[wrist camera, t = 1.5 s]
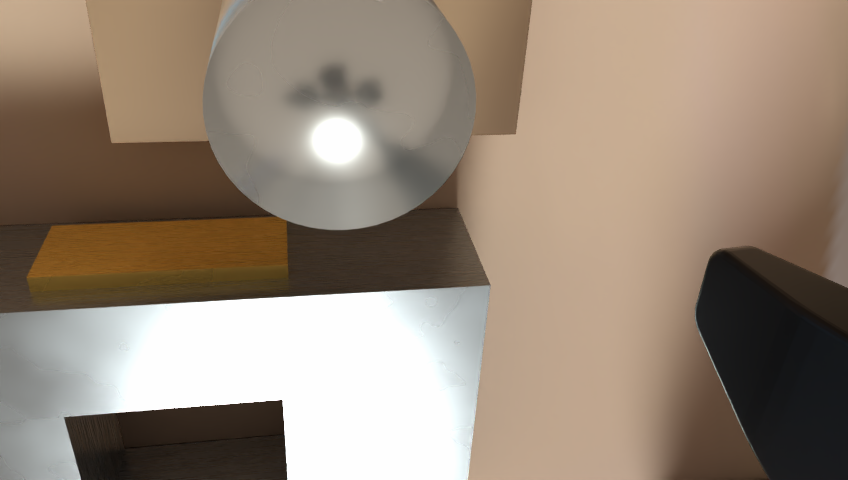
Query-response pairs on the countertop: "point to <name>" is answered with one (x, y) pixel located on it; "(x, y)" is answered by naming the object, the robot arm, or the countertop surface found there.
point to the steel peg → (337, 106)
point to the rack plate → (242, 346)
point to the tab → (191, 47)
